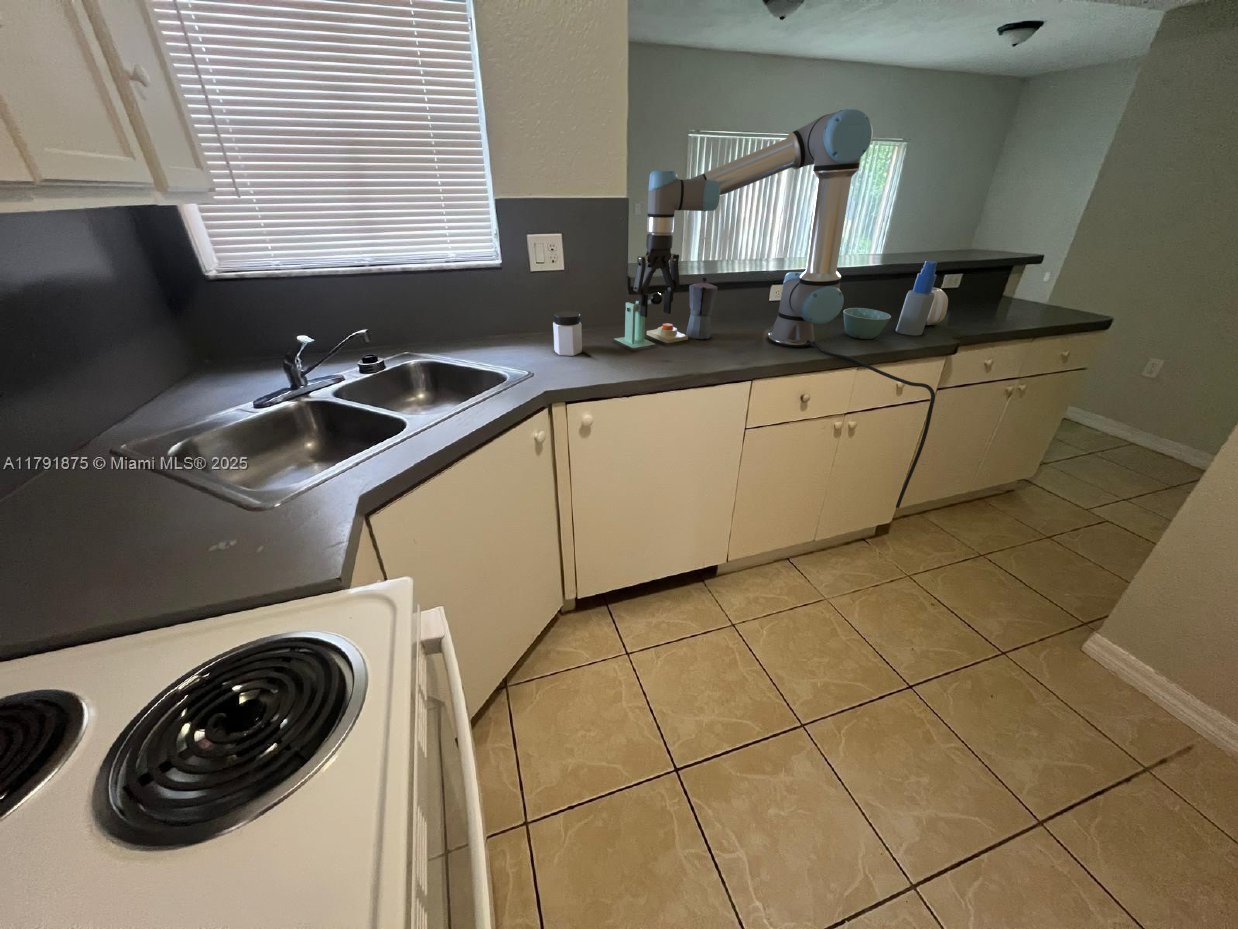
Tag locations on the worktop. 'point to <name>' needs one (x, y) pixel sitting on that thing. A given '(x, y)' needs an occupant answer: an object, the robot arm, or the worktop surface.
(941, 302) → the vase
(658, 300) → the lever
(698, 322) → the moka pot
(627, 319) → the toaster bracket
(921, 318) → the spray bottle
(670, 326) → the button
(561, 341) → the jar
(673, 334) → the button block
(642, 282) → the robot arm
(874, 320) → the bowl
